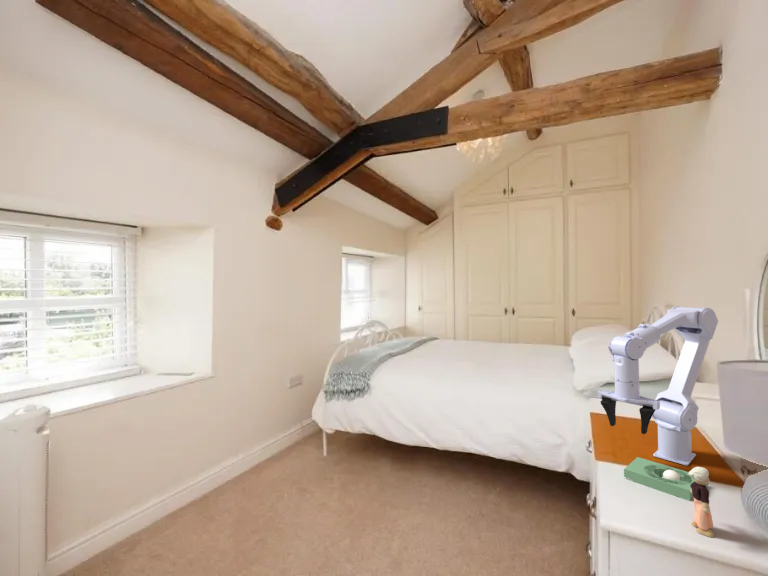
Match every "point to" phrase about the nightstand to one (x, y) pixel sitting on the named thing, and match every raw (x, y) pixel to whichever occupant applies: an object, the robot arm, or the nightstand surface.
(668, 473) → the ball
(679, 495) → the green
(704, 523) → the grandmother figurine
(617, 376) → the robot arm
